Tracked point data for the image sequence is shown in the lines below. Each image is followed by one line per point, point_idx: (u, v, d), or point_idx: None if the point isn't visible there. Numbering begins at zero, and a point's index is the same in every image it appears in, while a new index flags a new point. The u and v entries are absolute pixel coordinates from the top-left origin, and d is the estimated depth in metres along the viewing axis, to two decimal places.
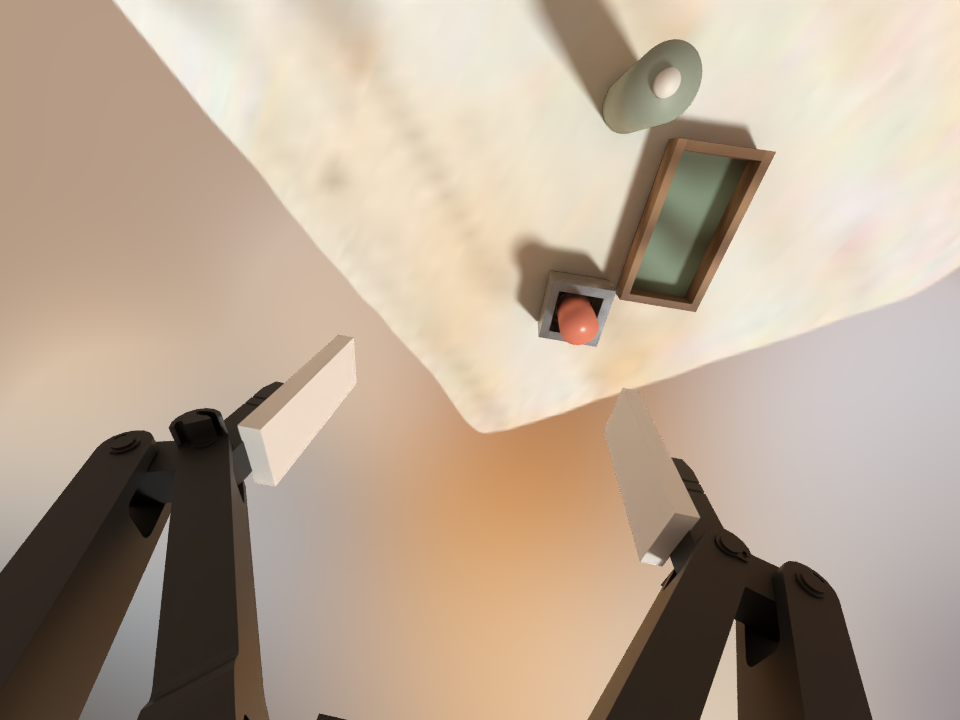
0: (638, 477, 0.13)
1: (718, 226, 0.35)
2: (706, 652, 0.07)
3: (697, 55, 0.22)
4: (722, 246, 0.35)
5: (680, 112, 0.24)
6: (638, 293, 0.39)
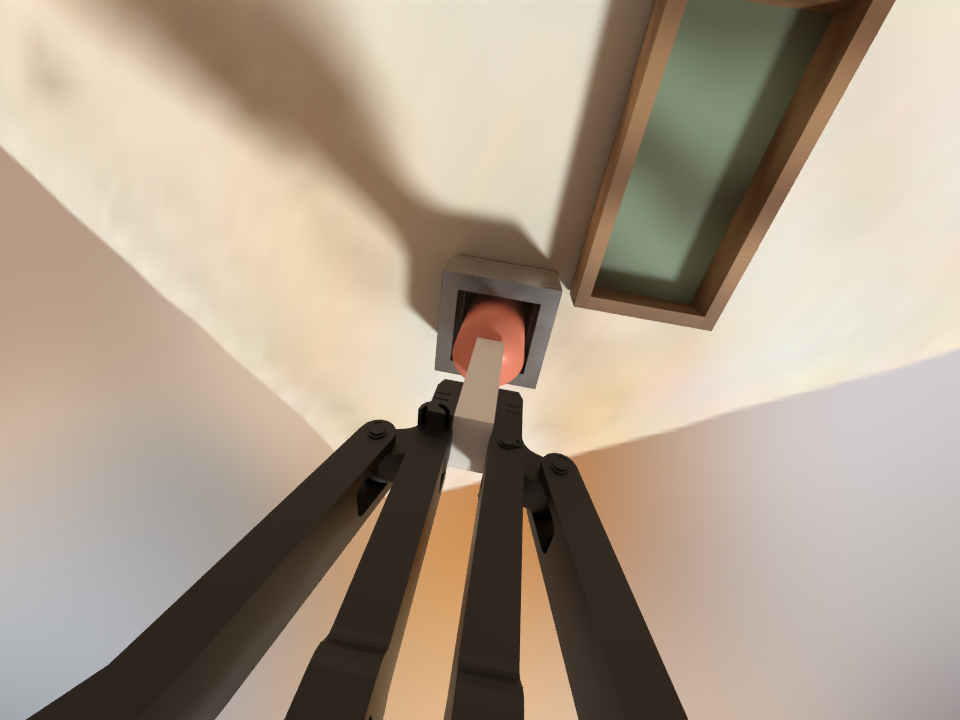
0: None
1: (760, 165, 0.18)
2: (513, 531, 0.09)
3: None
4: (770, 203, 0.17)
5: None
6: (607, 296, 0.21)
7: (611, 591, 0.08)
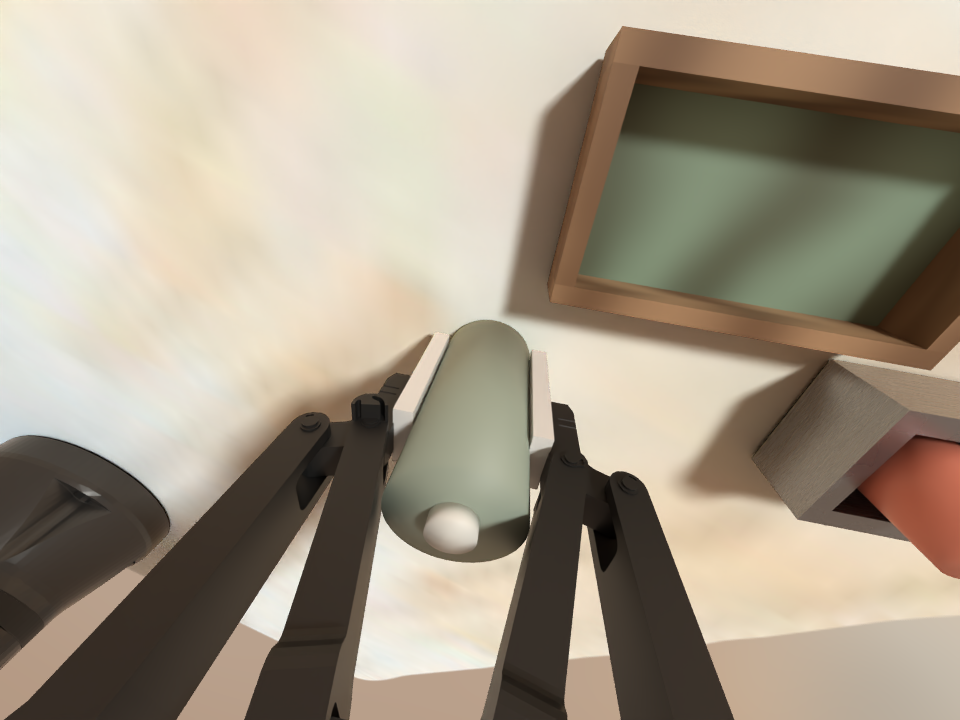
0: None
1: (794, 106, 0.12)
2: (569, 552, 0.09)
3: (401, 477, 0.10)
4: (903, 94, 0.10)
5: (508, 493, 0.09)
6: (933, 315, 0.13)
7: (676, 622, 0.08)
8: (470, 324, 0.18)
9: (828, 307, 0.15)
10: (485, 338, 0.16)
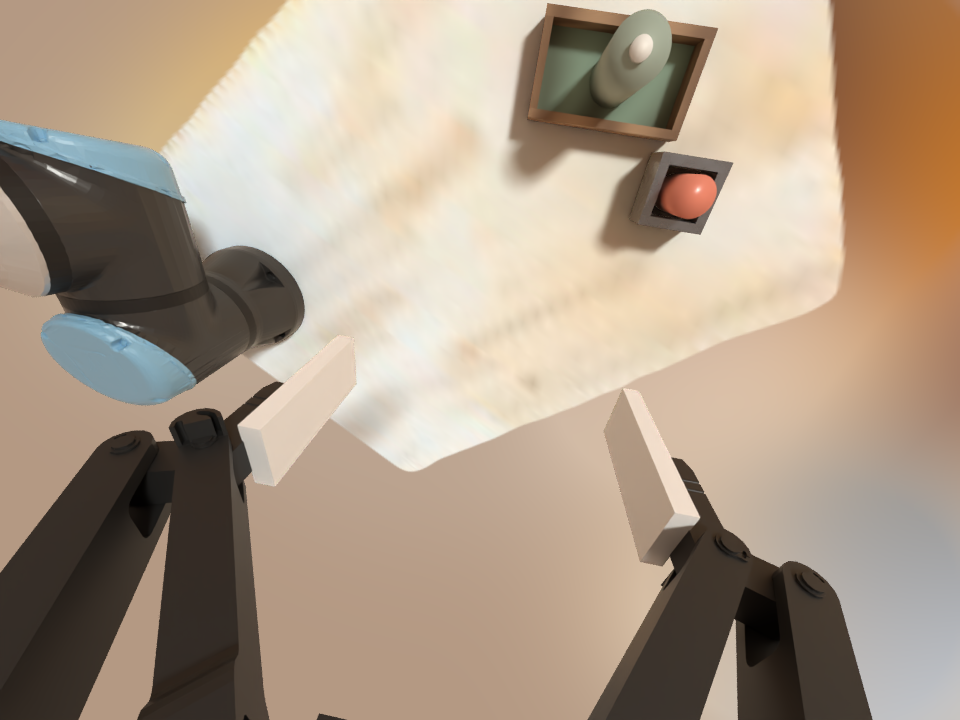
0: (638, 477, 0.13)
1: (612, 33, 0.33)
2: (706, 652, 0.07)
3: (625, 21, 0.25)
4: None
5: (666, 24, 0.25)
6: (674, 117, 0.34)
7: None
8: None
9: (643, 123, 0.36)
10: None
